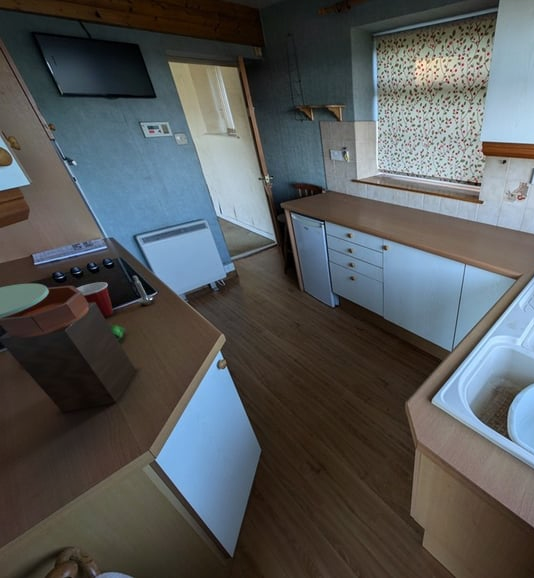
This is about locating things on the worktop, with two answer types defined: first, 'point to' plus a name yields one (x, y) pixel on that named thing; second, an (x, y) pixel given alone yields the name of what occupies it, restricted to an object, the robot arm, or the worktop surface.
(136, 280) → the screw
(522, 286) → the worktop surface
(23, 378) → the worktop surface
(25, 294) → the green flat oval disc
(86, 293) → the plastic cup
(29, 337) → the plinth
